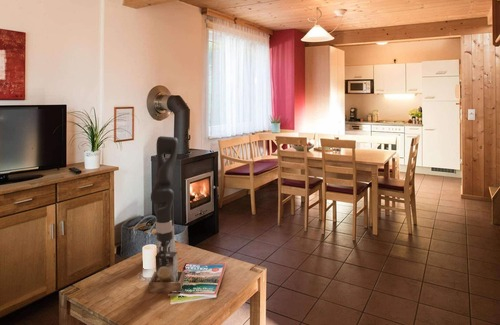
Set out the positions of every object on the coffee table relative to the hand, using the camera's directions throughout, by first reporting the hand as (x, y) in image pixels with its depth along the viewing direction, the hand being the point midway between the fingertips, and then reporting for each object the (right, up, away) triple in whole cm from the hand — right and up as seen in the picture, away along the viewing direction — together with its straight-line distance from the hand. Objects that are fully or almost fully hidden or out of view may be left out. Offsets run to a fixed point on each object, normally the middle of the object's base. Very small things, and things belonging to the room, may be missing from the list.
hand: (166, 261), depth 178 cm
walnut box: (0, -13, +2) cm, 13 cm away
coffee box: (0, -12, +2) cm, 12 cm away
